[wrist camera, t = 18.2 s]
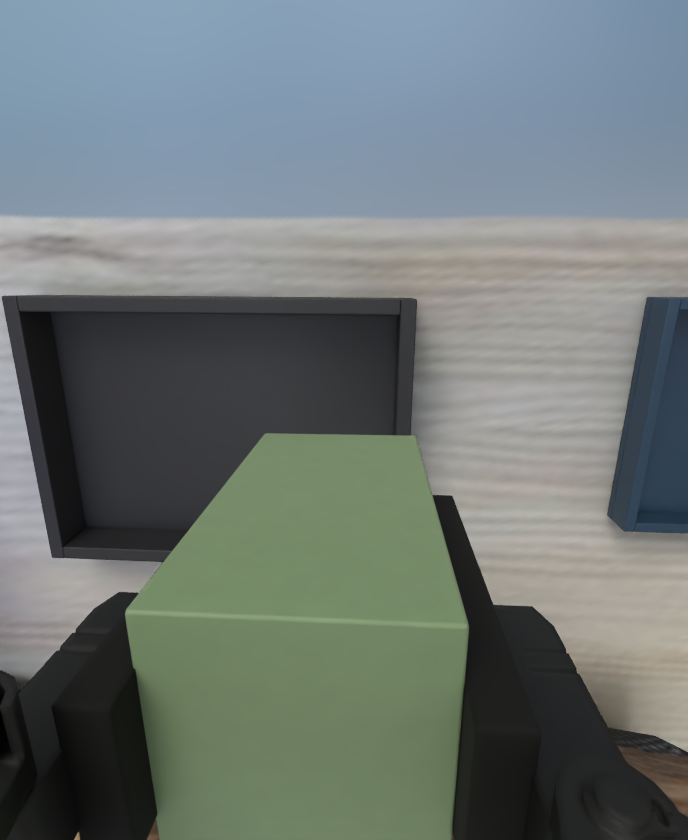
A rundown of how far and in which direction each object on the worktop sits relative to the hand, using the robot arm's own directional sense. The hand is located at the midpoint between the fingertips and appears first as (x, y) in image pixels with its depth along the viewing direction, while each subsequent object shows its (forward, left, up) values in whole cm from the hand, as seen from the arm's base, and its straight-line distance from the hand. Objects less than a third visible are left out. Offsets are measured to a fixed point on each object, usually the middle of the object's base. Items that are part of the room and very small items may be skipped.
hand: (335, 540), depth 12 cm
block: (0, 0, -2) cm, 2 cm away
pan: (+6, +6, -16) cm, 18 cm away
